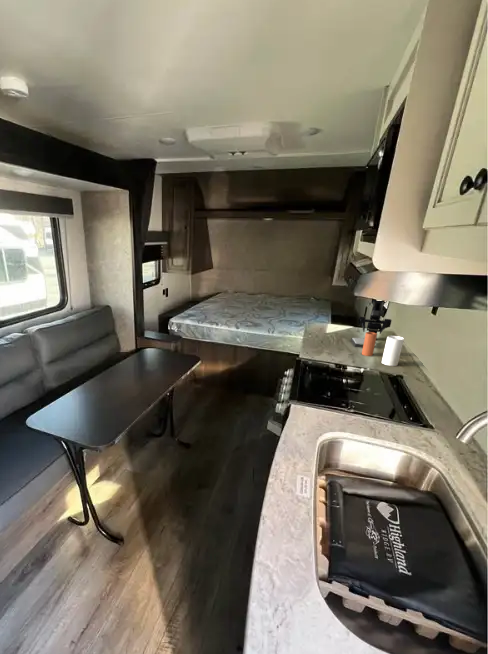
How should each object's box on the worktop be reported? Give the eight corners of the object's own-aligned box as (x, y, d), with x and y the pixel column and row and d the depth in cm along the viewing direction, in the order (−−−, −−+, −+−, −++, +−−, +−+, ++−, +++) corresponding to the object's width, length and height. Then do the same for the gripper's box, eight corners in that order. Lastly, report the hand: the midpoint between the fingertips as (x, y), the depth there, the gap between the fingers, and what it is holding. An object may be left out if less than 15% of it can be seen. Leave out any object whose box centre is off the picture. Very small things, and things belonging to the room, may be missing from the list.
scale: (350, 340, 238) (351, 337, 237) (367, 341, 235) (368, 338, 234) (354, 346, 224) (355, 343, 223) (372, 348, 222) (373, 344, 221)
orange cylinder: (360, 352, 213) (364, 331, 208) (371, 353, 212) (375, 332, 207) (362, 355, 208) (367, 334, 203) (373, 356, 206) (378, 334, 201)
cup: (399, 366, 190) (406, 339, 184) (384, 365, 192) (390, 339, 186) (394, 361, 198) (400, 335, 192) (379, 360, 199) (385, 335, 193)
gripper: (361, 303, 213) (356, 324, 208) (394, 306, 204) (390, 327, 199) (360, 313, 222) (355, 333, 217) (392, 316, 213) (387, 337, 208)
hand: (371, 332), depth 210 cm, fingers open, 9 cm apart
